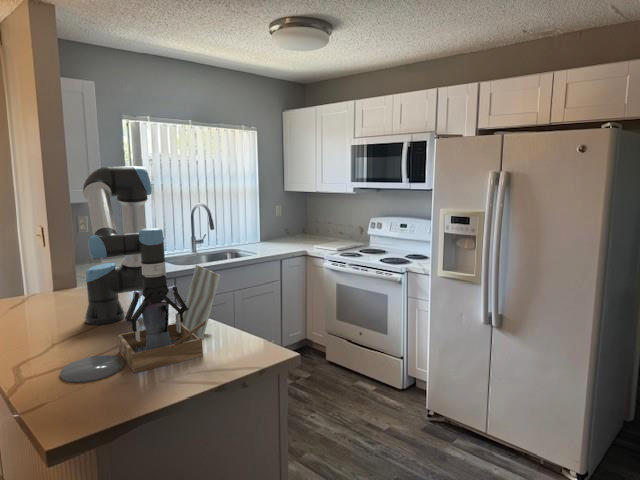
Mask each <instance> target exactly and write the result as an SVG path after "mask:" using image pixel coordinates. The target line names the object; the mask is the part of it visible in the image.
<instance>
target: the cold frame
mask: <svg viewBox="0 0 640 480" xmlns="http://www.w3.org/2000/svg"><path fill="white" fill-rule="evenodd" d="M221 276H222V275H220V274H218V273H216V272H214V271H211V270H210V269H207V268H205V267H203V266H200V265H198V264H196V265H195V267H194V271H193V275H192V278H191V281H190V285H189V289H188V292H187V296H186V299H185V301H184V303H185V305H186V306H187V308H188V310H187V311H185V312H184V313H183V322H181V333H178V332H177V329H176V323H175V322H173V323H168V332H169V337H170V341H171V340H172V341H175V342H174V343H173V344H171V345H168V346H164V347H160V348H155V349H151V350H147V351H145V350H142V351H138V352H136V351H135V350H137V349H140V348H146V334H147V333H146V328H144V329H139V331H140V342H138V341H137V340H136V334H135V332H133V331H130V332H126V333H125V332H123V333H121V334H117V340H118V343H117V344H118V352H119V354H120V355H121V356H122V357H123V358H122V359H123V360H125V362H126V363H127V364H128V366H129V368H130V369H131V371H132V372H133V374H136V373H137V374H138V373H141V372H144V371H150V370H153V369H157V368H161V367H165V366H168V365H172V364H177V363H180V362H185V361H189V360H192V359H197V358H201V357H203V356H204V353H203V339H204V336H205V333H206V330H207V326H208V322H209V319H210V318H209V317H210V315H211V311H212V307H213V305H214V304H213V303H214V302H215V301H214V299H215V297H216V293H217V290H218V286H219V284H220V283H219V282H220V280H221ZM176 339H177V340H176ZM172 341H171V342H172Z"/></svg>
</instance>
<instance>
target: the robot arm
mask: <svg viewBox="0 0 640 480" xmlns="http://www.w3.org/2000/svg"><path fill="white" fill-rule="evenodd" d="M82 187H83V188H82V190H83V191H82V192H83V197H84V199H85V200H86V201H87V204H88V211H89V216H90V217H89V218H90V223H91V229H92V235H91V236H89V237H88V238H87V242H88V243H87V244H88V246H87V247H88V251H89V252H88V253H89V256H90V257H91V258H92V259H106V258H112V257H113V258H114V257H121V256H122V257H123V256H124V258H123V259H122V260H121V263H120V264H121V265H117V264H116V263H115V262H105V263H101V264H96V265H93V266H91V267H89V268H88V269H87V270H86V271H85V282H86V289H87V290H86V291H87V302H88V303H87V308H86V312H85V316H84V320H85V323H86V324H88V325H92V326H93V325H95V326H97V325H107V324H112V323H116V322H119V321H121V320H123V319H124V320H125V322H127V323H130V324H131V332H135V334H136V340H137V341H138V342H140V331H139V330H140V323H139V321H138V319H140V317H141V316H142V313H143V311H144V310H145V308H146V307H147V306H148V305H149V304H150V303H156V302H162V301H166V302H167V303H168V304H169V306H171V308H173V309H174V310H175V311H176V312H175V314H174V315H175V322H176V329H177V332H178V333H181V322H183V313H184V312H185V311H187V310H188V308H187V306H186V305H185V301H184V300H183V298H182V297H181V296H180V294H179V291H178V288H177V286H175V285H174V284H173V285H171V286H169V287H168V281H167V274H166V272H167V270H166V267H167V266H166V257H165V237H164V232H163V229H162V228H159V227H148V228H147V227H146V221H145V203H147V201H148V199H149V198H148V196H150V195H152V185H151V179H150V176H149V173H148V170H147V169H146V168H145V167H144V166H134V165H129V166H127V165H126V166H123V165H122V166H103V167H100V168H97V169H95V170H94V171H93V172H91V173H90V174H89V175H88V176H87V178H86V179H85V181H84V183H83V186H82ZM111 197H116V201H117V202H119V203H120V204H121V214H122V215H121V219H122V230H123V231H122V233H118V231H117V227H116V222H115V221H116V220H115V217H114V212H113V208H112V202H111ZM130 292H132V293H133V294H132V295H133V296H132V300H131V302H130V305H129V306H128V310H127V312H126V314H125V310H124V308H123V306H122V304H121V302H120V300H119V294H122V293H130ZM169 292H170V293H172V295H173V296H174V297H175V299H176V301H177V302H178V304H179V305H180V306H178V305H177V304H176V303H174V302H173V301H172V300H171V299H170V298H169V297H168V296H167V295H168V294H169ZM142 296H143V297H144V299H143V300H142V302H141V303H140V305H139V306H138V305H137V304H138V303H139V301H140V299H141V298H142ZM137 306H138V308H137ZM180 307H181V308H180ZM136 308H137V309H136ZM135 310H136V311H135Z"/></svg>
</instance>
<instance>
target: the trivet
mask: <svg viewBox="0 0 640 480" xmlns="http://www.w3.org/2000/svg"><path fill="white" fill-rule="evenodd" d="M124 365H125V364H124V358H122V357H121V356H117V355H111V354H110V355H109V354H104V355H101V354H100V355H94V356H88V357H84V358H81V359H78V360H75V361H73V362H70V363H69V364H67V365H65V366H63V368H62V369H61V370H60V372H59V374H60V375H59V376H60V379H61V380H62V381H64V382H67V383H87V382H94V381H98V380H99V381H100V380H101V379H105V378H108V377H110V376H113V375H114V374H116V373H118V372H120V371H121V370H122V369H123V368H124Z"/></svg>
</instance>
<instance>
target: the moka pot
mask: <svg viewBox="0 0 640 480" xmlns="http://www.w3.org/2000/svg"><path fill="white" fill-rule="evenodd" d="M169 312H170V304H168V303H167V302H166V301H165V300H163V301H162V302H156V303H150V304H149V305H148V306H147V307H146V308H145V310H144V311H143V313H142V314H141V316H142V319H143V320H142V321H143V324H144V329H146V333H147V334H146V346H145V349H144V351H147V350H151V349H155V348H160V347H164V346H168V345H172V341H170V337H169V332H168V324H169V314H170V313H169Z"/></svg>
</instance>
